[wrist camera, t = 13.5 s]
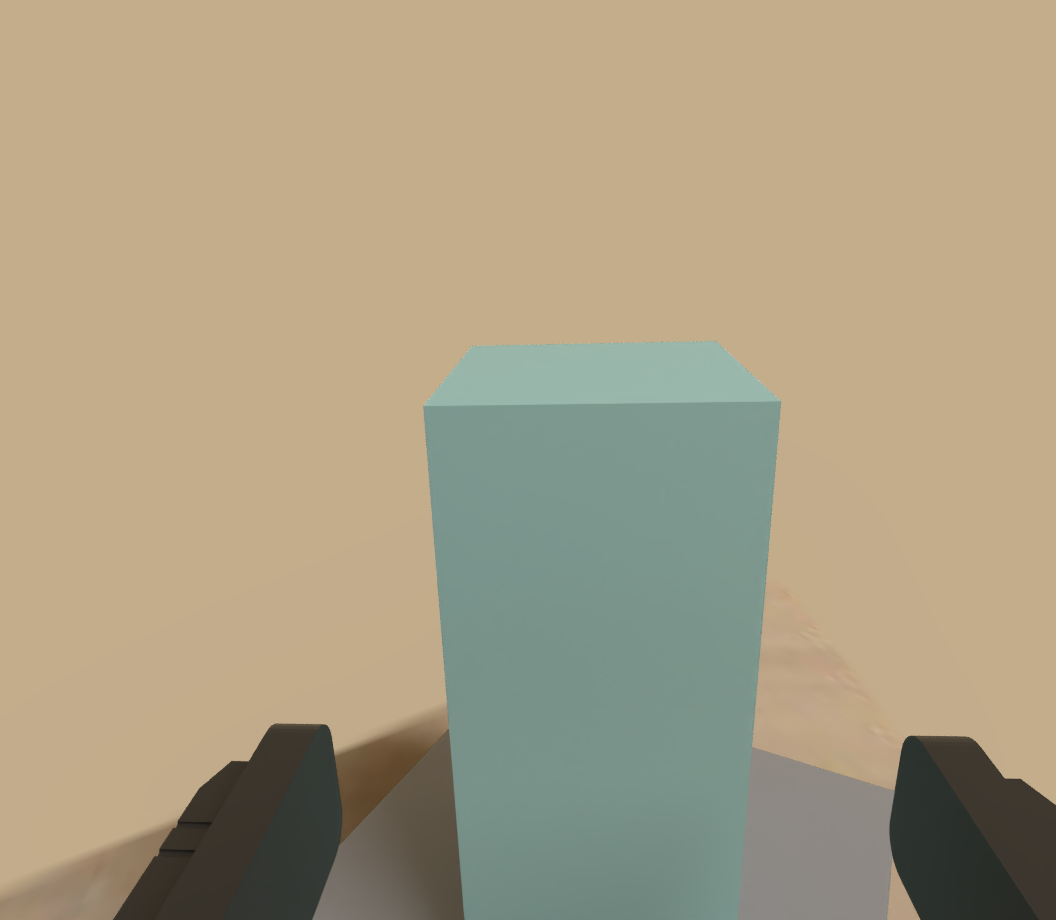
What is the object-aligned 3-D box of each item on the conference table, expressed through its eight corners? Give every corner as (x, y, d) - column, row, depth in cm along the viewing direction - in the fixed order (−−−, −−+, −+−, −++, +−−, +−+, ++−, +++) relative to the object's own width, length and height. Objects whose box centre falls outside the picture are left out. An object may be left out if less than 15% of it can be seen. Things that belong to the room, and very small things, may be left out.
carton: (469, 986, 17) (423, 405, 12) (497, 792, 22) (472, 346, 18) (730, 999, 16) (781, 401, 12) (691, 797, 22) (715, 341, 18)
